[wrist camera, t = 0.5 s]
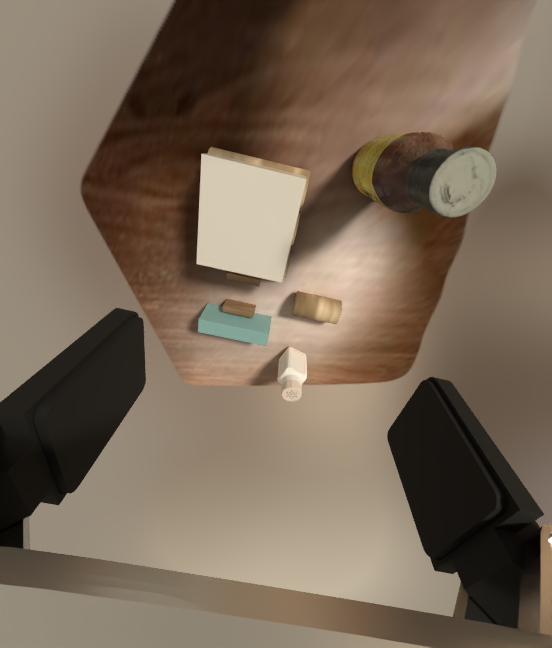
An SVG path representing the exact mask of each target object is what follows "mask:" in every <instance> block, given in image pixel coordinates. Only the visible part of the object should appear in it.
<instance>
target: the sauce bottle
mask: <svg viewBox="0 0 552 648" xmlns="http://www.w3.org/2000/svg"><path fill="white" fill-rule="evenodd" d="M351 174H352V178H353V181H354V183H355V185H356V187H357V189H358V190H359V191H360V192H361V193H363V194H364V195H366V196H368V197H369V198H371V199H373V200H374V201H376V202H378V203H380V204H381V205H383V206H385V207H387V208H388V209H391V210H393V211H396V212H399V213H410V212H414V211H417V210H419V209H422V208H424V207H425V208H426V209H427V210H428V211H429V212H431V213H433V214H436V215H439V216H443V217H448V218H453V217H459V216H462V215H464V214H466V213H468V212H470V211H472V210H474V209H475V208H476V207H477V206H478V205H479V204H480V203H482V201H483V200H484V199H485V198H486V197H487V196H488V195H489V193H490V191H491V189H492V187H493V185H494V182H495V178H496V164H495V161H494V159H493V156H492V155H491V154H490V153H489V152H488V151H486V150H485V149H482V148H479V147H470V146H463V147H459V148H455V149H453V146H452V143H451V142H449V141H448V140H446V139H445V138H444V137H442V136H441V135H437V134H434V133H429V132H427V133H425V132H421V133H417V132H414V133H404V134H397V135H388V136H382V137H377V138H375V139H373V140H371V141H369V142H368V143H367V144H365V145H364V146H363V147H362V148H360V149H359V151H358V152H357V154H356V156H355V158H354V161H353V164H352V169H351Z"/></svg>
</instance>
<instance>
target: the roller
mask: <svg viewBox="0 0 552 648" xmlns="http://www.w3.org/2000/svg"><path fill="white" fill-rule="evenodd" d="M341 310H342V301H340V300H335V299H331V298H326V297H322V296H317V295H312V294H308V293H303V292H299V291H297V293H296V296H295V299H294V303H293V308H292V315H295V316H300V317H304V318H309V319H314V320H318V321H323V322H328V323H333V324H336V323H337V322H338V320H339V318H340V315H341Z"/></svg>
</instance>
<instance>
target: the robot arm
mask: <svg viewBox="0 0 552 648" xmlns="http://www.w3.org/2000/svg"><path fill="white" fill-rule="evenodd" d="M145 381H146V377H145V352H144V326H143V319H142V318H139V317H138V314H137V313H136V312H133V311H129V310H124V309H120V308H116V309H114V310H113V311H111V312H110V313H109V314H108V315H107V316H105V317H104V318H103V319H102V320H100V321H99V322H98V323H97V324H96V325H94V326H93V327H92V328H91V329H89V330H88V331H87V332H86V333H85V334H83V335H82V336H81V337H80V338H79V339H77V340H76V341H75V342H74V343H72V344H71V345H70V346H69V347H68V348H66V349H65V350H64V351H63V352H61V353H60V354H59V355H58V356H56V357H55V358H54V359H53V360H52V361H50V362H49V363H48V364H47V365H46V366H44V367H43V368H42V369H41V370H39V371H38V372H37V373H36V374H35V375H33V376H32V377H31V378H30V379H28V380H27V381H26V382H25V383H24V384H22V385H21V386H20V387H19V388H17V389H16V390H15V391H14V392H12V393H11V394H10V395H9V396H8V397H7V398H5V399H4V400H3V401H1V402H0V648H552V524H546V525H544V526H543V527H541V528H540V527H539V525H538V524H537V522H536V521H535V520H537V519H538V518H539V517H541V516H543V515H544V513H543V512H542V511H541V509H540V508H539V506H538V505H537V503H536V502H535V501H534V499H533V498H532V496H531V495H530V494H529V492H528V491H527V489H526V488H525V486H524V485H523V484H522V482H521V481H520V479H519V478H518V476H517V475H516V474H515V472H514V471H513V469H512V468H511V466H510V465H509V464H508V462H507V461H506V459H505V458H504V456H503V455H502V454H501V453H500V451H499V449H498V448H497V446H496V445H495V444H494V442H493V441H492V439H491V438H490V436H489V435H488V434H487V432H486V431H485V429H484V428H483V427H482V425H481V424H480V422H479V421H478V419H477V418H476V417H475V415H474V414H473V412H472V411H471V409H470V408H469V407H468V405H467V404H466V402H465V401H464V399H463V398H462V397H461V395H460V394H459V392H458V391H457V389H456V388H455V387H454V385H453V384H452V383H451V382H450V381H447V380H443V379H439V378H434V377H430V378H428V379H427V380H424V381H422V382H421V383H420V385H419V386H418V388H417V389H416V391H415V392H414V394H413V395H412V397H411V398H410V400H409V401H408V402H407V404H406V405H405V407H404V408H403V410H402V411H401V413H400V414H399V416H398V417H397V419H396V420H395V422H394V423H393V425H392V426H391V427H390V429H389V431H388V442H389V445H390V448H391V452H392V455H393V457H394V461H395V464H396V467H397V469H398V473H399V476H400V479H401V482H402V485H403V488H404V491H405V494H406V497H407V500H408V503H409V506H410V509H411V512H412V515H413V518H414V521H415V524H416V527H417V530H418V534H419V536H420V539H421V542H422V546H423V548H424V551H425V552H426V554H427V555H428V556H429V557H430V558H431V561H432V564H433V567H434V570H435V571H440V572H446V573H451V574H454V573H455V572H458V575H459V577H460V580H461V583H460V588H459V592H458V596H457V601H456V605H455V610H454V614H453V617H449V616H443V615H438V614H432V613H425V612H420V611H414V610H408V609H402V608H396V607H390V606H384V605H378V604H373V603H367V602H360V601H355V600H348V599H342V598H336V597H330V596H324V595H318V594H312V593H306V592H299V591H294V590H288V589H281V588H275V587H269V586H263V585H257V584H251V583H244V582H238V581H233V580H226V579H220V578H214V577H208V576H201V575H195V574H189V573H182V572H176V571H169V570H163V569H157V568H151V567H145V566H138V565H132V564H126V563H119V562H113V561H107V560H100V559H93V558H86V557H79V556H72V555H64V554H57V553H50V552H43V551H35V550H30V536H29V535H30V534H29V516H30V515H31V514H32V513H33V512H34V510H35V509H36V508H37V506H38V505H39V504H40V502H44V503H49V504H55V505H59V504H60V503H61V501H62V500H63V498H64V497H65V495H66V494H67V493H72V492H74V491H75V490H76V489H77V487H78V486H79V485H80V483H81V482H82V480H83V479H84V477H85V476H86V474H87V473H88V471H89V470H90V468H91V467H92V465H93V464H94V462H95V461H96V459H97V458H98V456H99V455H100V453H101V452H102V450H103V449H104V447H105V446H106V444H107V443H108V441H109V440H110V438H111V437H112V435H113V434H114V432H115V431H116V429H117V428H118V426H119V425H120V423H121V422H122V420H123V419H124V417H125V416H126V414H127V412H128V411H129V410H130V408H131V407H132V405H133V404H134V402H135V401H136V399H137V398H138V396H139V395H140V393H141V392H142V390H143V388H144V385H145Z"/></svg>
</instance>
